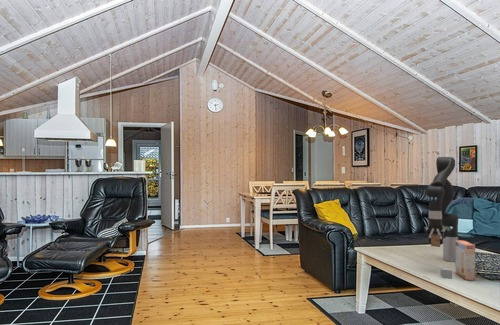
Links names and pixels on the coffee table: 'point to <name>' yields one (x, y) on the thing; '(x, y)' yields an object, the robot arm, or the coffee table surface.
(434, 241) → the walnut block
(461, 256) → the cracker box
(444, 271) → the grey block
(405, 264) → the coffee table surface
